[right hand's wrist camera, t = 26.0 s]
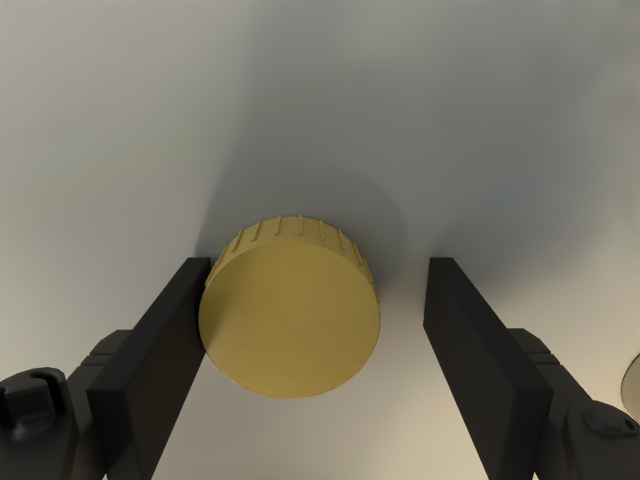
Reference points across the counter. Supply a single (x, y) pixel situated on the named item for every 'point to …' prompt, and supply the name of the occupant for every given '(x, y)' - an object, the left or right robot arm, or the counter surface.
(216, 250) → the counter surface
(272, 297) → the lid
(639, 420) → the bottle
